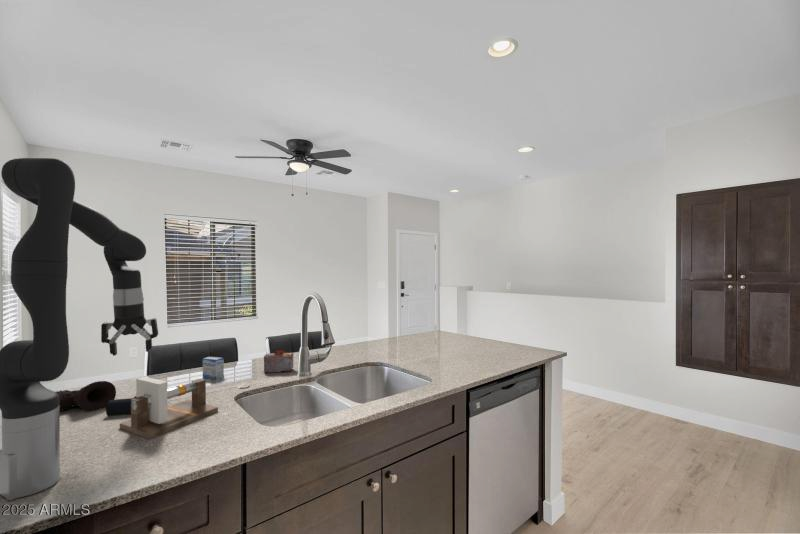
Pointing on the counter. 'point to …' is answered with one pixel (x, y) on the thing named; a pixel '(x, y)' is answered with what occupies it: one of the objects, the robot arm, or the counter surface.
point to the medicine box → (213, 367)
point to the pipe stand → (169, 414)
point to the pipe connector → (119, 406)
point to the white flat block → (154, 397)
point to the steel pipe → (172, 392)
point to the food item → (278, 361)
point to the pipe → (88, 396)
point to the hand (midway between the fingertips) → (131, 352)
